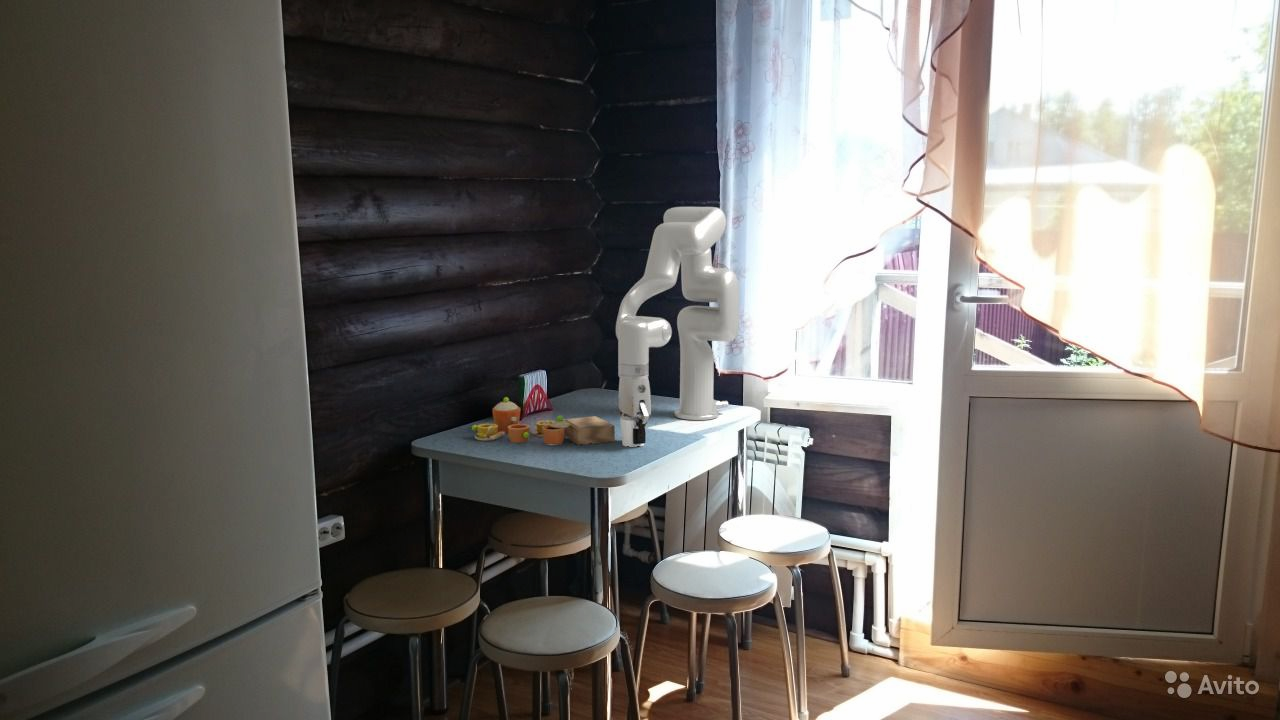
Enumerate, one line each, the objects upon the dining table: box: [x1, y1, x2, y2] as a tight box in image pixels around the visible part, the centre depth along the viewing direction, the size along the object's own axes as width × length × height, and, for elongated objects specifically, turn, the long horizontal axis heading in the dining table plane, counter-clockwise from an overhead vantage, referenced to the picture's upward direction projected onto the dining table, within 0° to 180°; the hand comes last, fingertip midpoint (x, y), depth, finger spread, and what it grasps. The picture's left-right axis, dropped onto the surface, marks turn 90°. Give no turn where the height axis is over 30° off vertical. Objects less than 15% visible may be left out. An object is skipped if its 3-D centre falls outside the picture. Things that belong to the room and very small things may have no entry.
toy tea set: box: [471, 396, 570, 445], centre depth 237 cm, size 26×16×10 cm, turn 73°
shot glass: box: [619, 414, 646, 448], centre depth 230 cm, size 7×7×7 cm
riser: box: [563, 415, 616, 446], centre depth 237 cm, size 10×12×4 cm
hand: (633, 440), depth 231 cm, fingers closed on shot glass, 6 cm apart
